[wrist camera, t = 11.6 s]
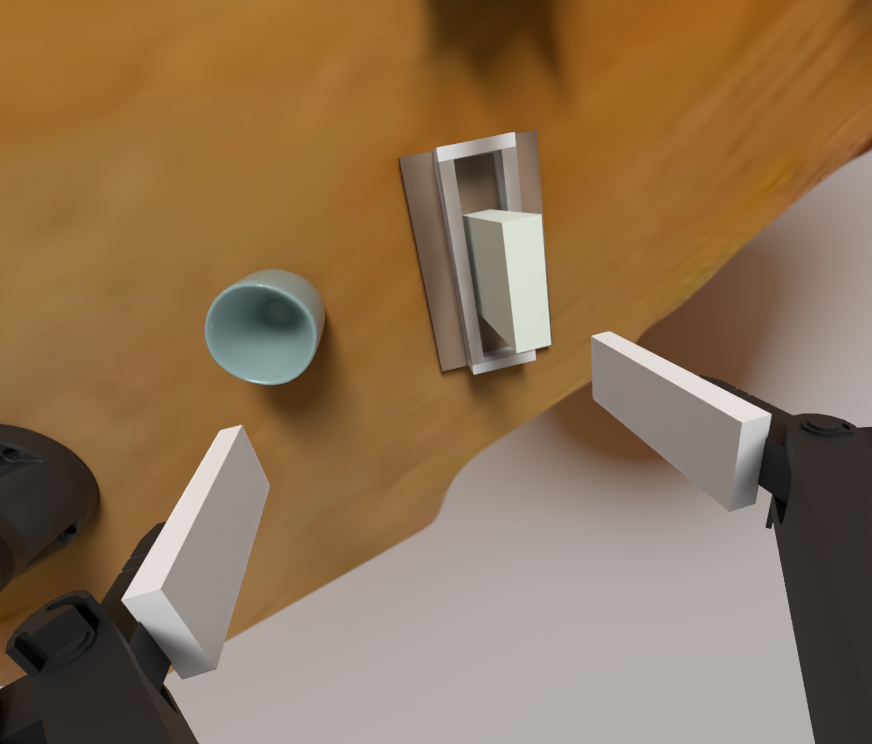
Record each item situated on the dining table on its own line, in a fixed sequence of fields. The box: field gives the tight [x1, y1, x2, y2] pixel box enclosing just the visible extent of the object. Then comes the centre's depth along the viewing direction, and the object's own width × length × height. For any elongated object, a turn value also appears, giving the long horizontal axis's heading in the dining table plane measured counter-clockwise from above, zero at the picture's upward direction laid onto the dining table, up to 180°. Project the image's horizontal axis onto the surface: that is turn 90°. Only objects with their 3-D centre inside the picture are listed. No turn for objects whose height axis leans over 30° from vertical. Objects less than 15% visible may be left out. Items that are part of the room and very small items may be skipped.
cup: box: [205, 269, 325, 385], centre depth 34 cm, size 8×8×10 cm
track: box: [399, 130, 553, 375], centre depth 38 cm, size 12×20×4 cm, turn 11°
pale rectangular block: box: [462, 209, 551, 353], centre depth 33 cm, size 3×9×12 cm, turn 11°
